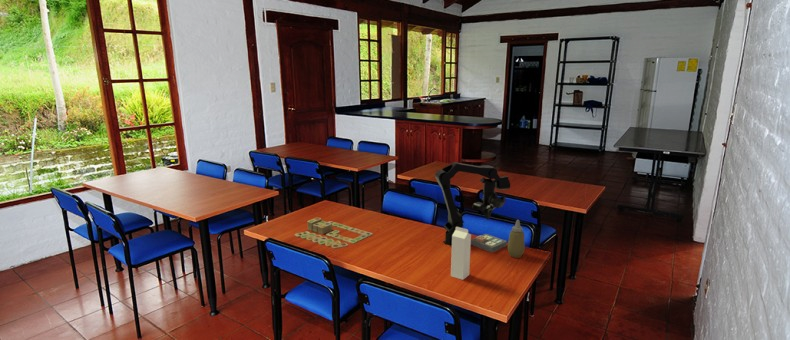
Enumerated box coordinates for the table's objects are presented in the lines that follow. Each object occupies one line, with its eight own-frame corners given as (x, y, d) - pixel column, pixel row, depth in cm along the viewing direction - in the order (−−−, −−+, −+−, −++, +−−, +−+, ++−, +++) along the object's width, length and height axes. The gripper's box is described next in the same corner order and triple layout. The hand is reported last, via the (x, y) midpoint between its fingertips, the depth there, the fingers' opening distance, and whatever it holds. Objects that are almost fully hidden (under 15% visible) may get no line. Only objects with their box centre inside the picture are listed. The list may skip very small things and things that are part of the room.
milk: (457, 271, 188) (458, 224, 183) (469, 275, 185) (471, 227, 180) (450, 276, 183) (452, 228, 178) (462, 280, 180) (464, 231, 175)
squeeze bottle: (515, 260, 199) (517, 224, 194) (503, 253, 206) (505, 218, 201) (527, 256, 202) (530, 221, 198) (515, 250, 209) (518, 216, 205)
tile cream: (491, 249, 209) (491, 245, 208) (484, 246, 212) (485, 242, 211) (496, 246, 211) (496, 243, 211) (489, 244, 214) (489, 240, 214)
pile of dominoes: (292, 236, 228) (291, 227, 227) (327, 222, 249) (327, 213, 248) (339, 252, 208) (339, 242, 207) (373, 235, 230) (373, 225, 229)
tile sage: (487, 242, 216) (488, 239, 216) (481, 240, 219) (481, 236, 219) (492, 240, 219) (492, 237, 219) (486, 238, 222) (486, 234, 221)
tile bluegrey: (497, 246, 212) (497, 242, 212) (491, 243, 215) (491, 240, 214) (502, 244, 215) (502, 240, 214) (495, 241, 218) (496, 238, 217)
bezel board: (492, 252, 207) (492, 247, 206) (470, 244, 216) (470, 239, 216) (506, 245, 215) (507, 241, 214) (485, 238, 224) (485, 233, 224)
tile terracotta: (481, 242, 213) (481, 239, 212) (475, 240, 216) (475, 236, 215) (486, 240, 215) (486, 237, 215) (480, 238, 218) (480, 234, 218)
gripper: (490, 197, 204) (488, 227, 208) (513, 190, 216) (511, 219, 219) (472, 192, 213) (471, 221, 216) (495, 185, 224) (494, 213, 228)
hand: (487, 219), depth 220 cm, fingers closed
